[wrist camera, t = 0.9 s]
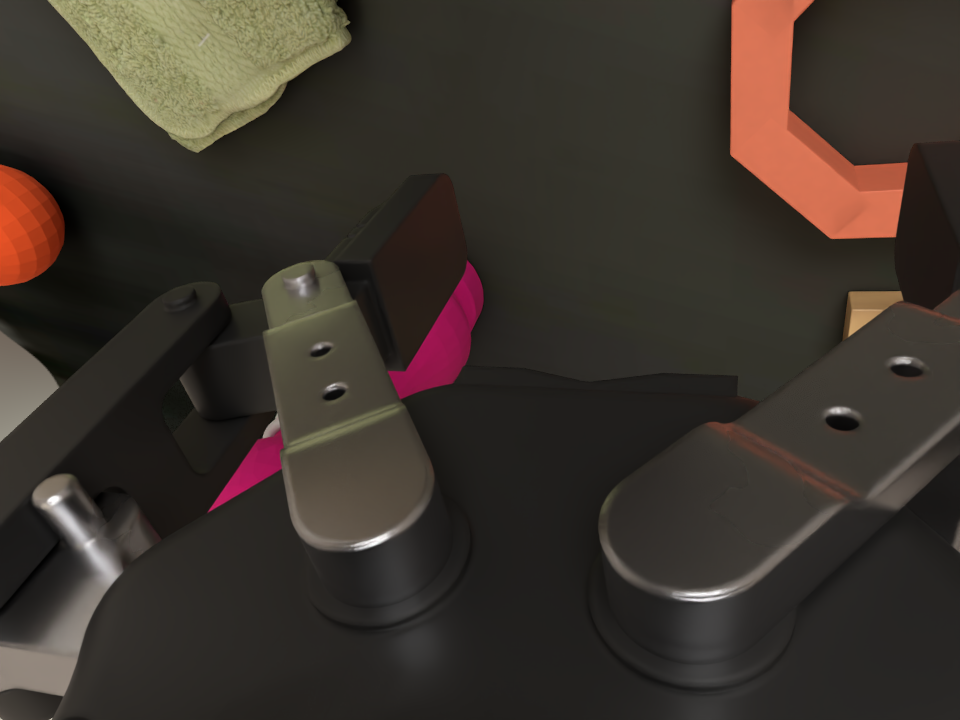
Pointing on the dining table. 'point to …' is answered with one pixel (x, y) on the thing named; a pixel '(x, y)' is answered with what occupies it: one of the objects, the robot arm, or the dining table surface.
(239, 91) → the washcloth
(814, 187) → the ring
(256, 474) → the pepper mill
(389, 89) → the dining table surface
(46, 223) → the clementine
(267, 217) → the dining table surface
